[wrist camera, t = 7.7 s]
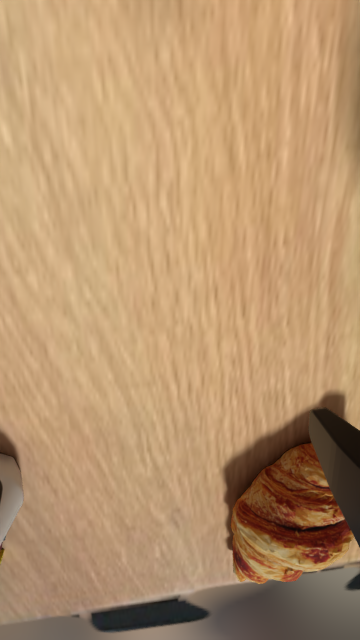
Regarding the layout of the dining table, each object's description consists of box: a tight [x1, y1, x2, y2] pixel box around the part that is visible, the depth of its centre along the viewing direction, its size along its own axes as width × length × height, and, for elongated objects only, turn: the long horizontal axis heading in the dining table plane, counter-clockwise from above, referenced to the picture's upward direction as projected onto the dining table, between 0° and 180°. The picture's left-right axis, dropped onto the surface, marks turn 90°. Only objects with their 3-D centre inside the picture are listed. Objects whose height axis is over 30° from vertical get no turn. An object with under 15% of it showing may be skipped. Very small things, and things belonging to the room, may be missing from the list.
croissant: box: [231, 443, 354, 584], centre depth 30 cm, size 21×10×8 cm, turn 162°
